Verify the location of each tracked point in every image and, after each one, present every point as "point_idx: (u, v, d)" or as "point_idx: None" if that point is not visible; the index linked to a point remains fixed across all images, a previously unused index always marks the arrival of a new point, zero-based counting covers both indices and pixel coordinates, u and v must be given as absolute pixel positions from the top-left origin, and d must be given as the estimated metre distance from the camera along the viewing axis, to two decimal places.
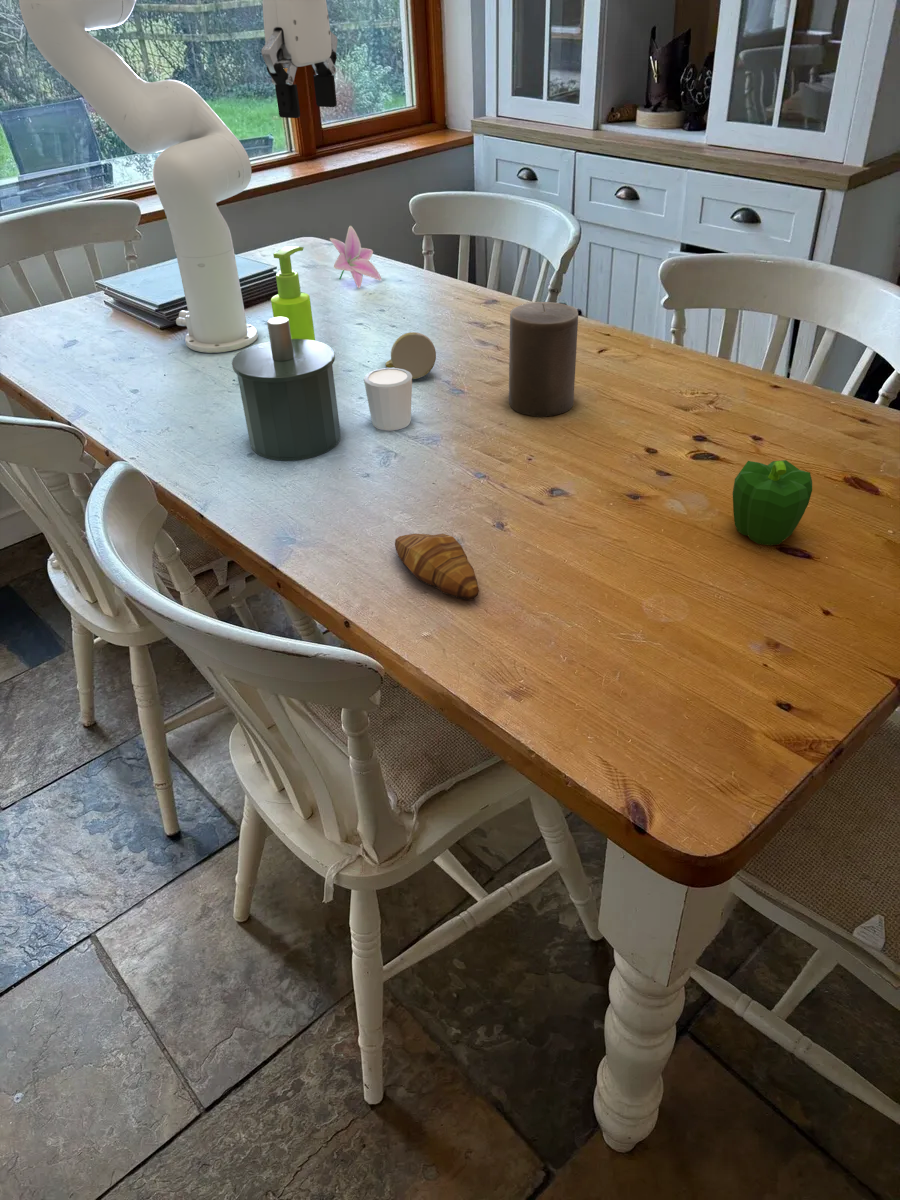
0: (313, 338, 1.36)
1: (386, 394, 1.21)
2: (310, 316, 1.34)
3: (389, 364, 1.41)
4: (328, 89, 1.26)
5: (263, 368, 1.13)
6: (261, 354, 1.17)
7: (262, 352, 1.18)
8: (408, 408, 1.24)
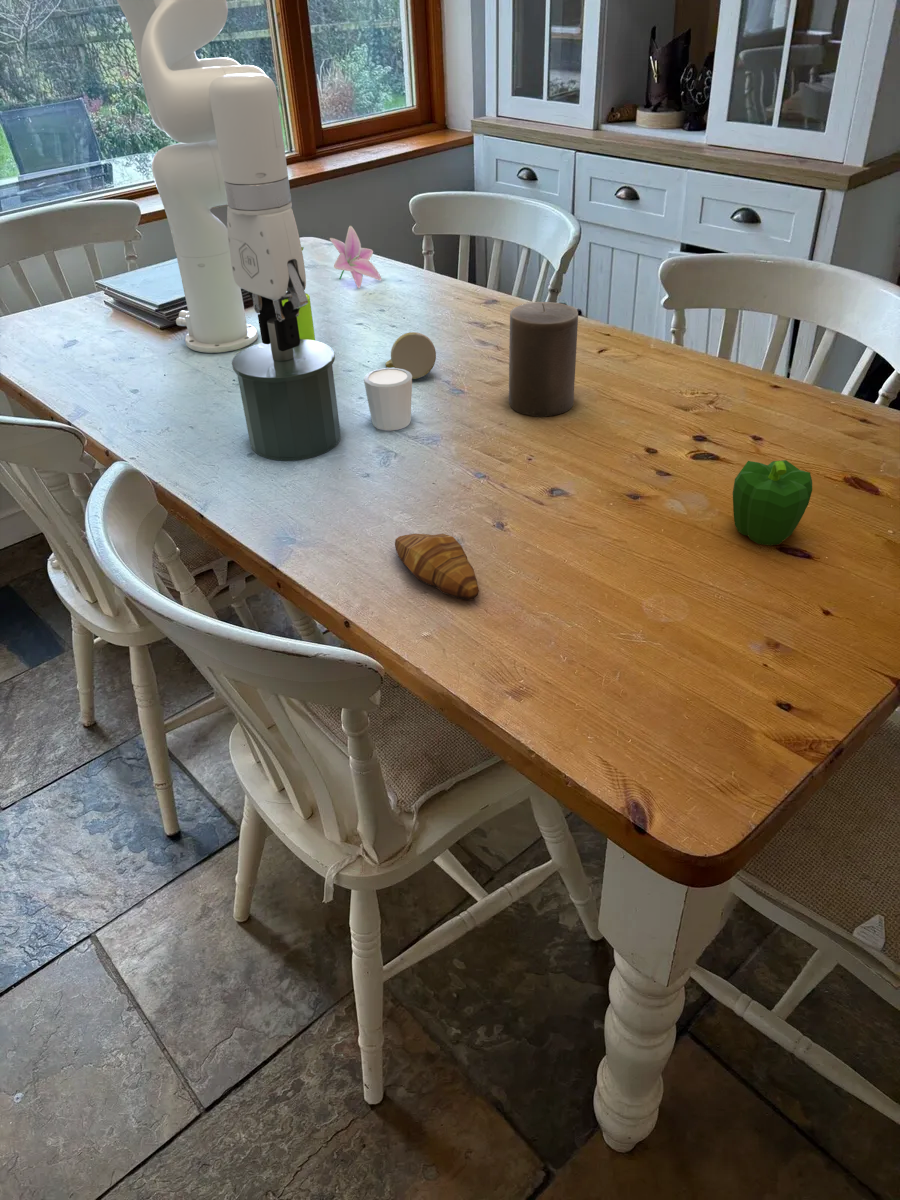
0: (313, 338, 1.36)
1: (386, 394, 1.21)
2: (310, 316, 1.34)
3: (389, 364, 1.41)
4: None
5: (263, 368, 1.13)
6: (261, 354, 1.17)
7: (262, 352, 1.18)
8: (408, 408, 1.24)
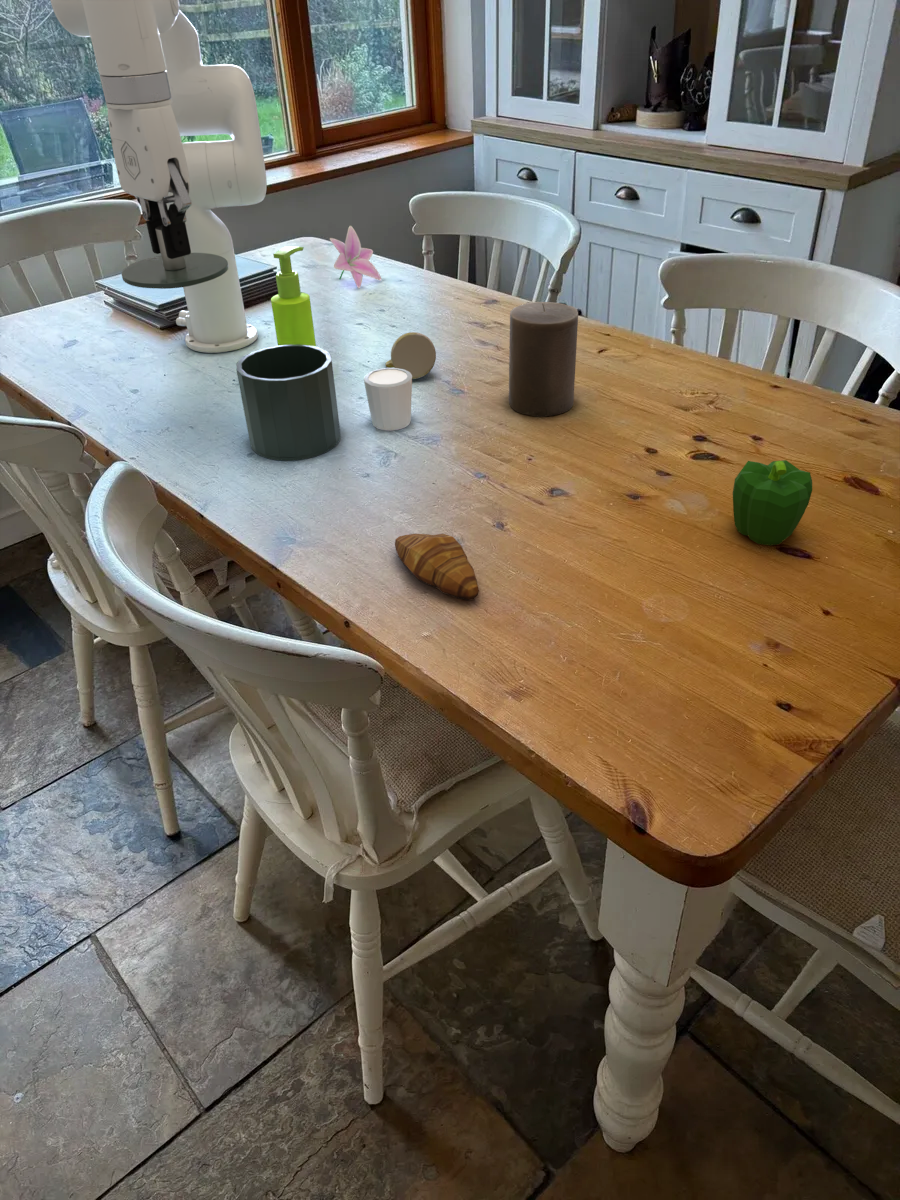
0: (313, 338, 1.36)
1: (386, 394, 1.21)
2: (310, 316, 1.34)
3: (389, 364, 1.41)
4: None
5: (152, 276, 1.11)
6: (153, 265, 1.15)
7: (155, 263, 1.16)
8: (408, 408, 1.24)
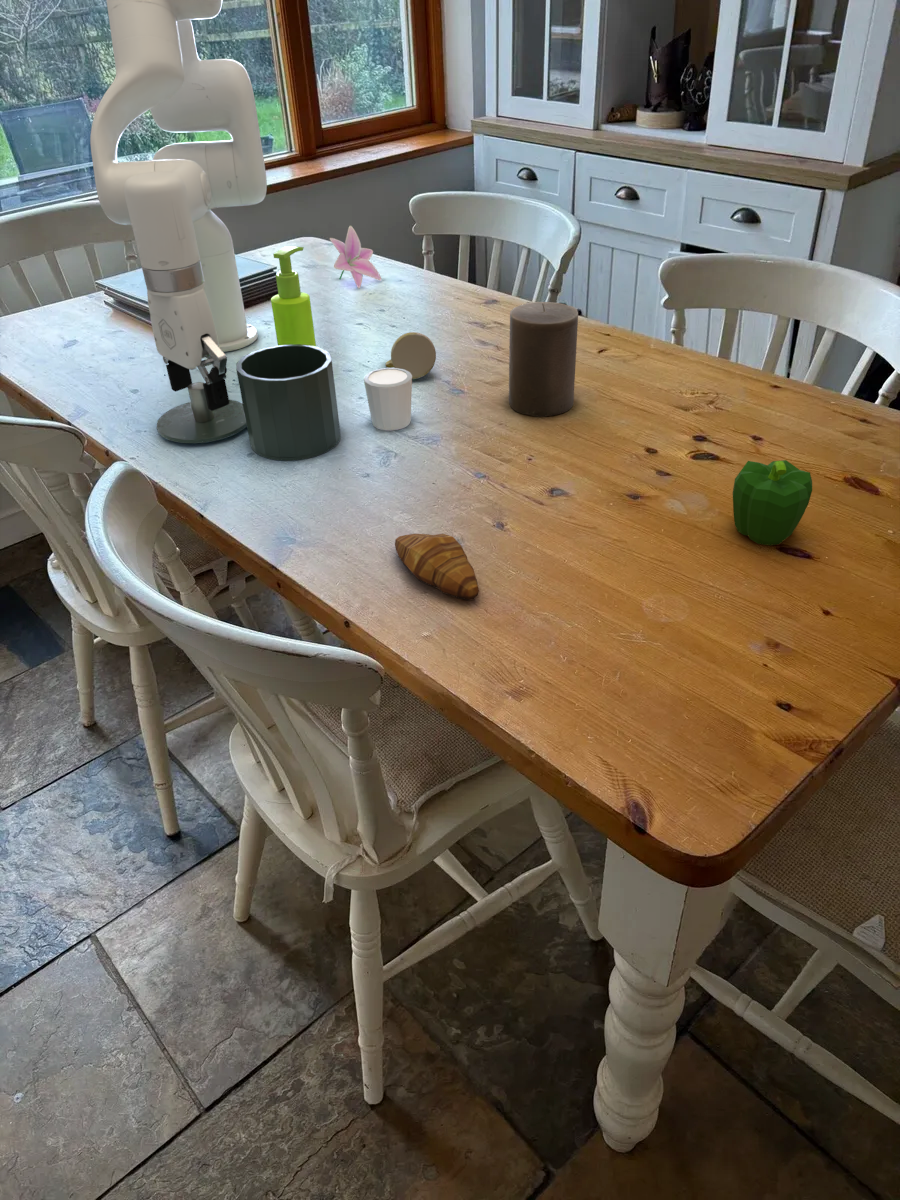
0: (313, 338, 1.36)
1: (386, 394, 1.21)
2: (310, 316, 1.34)
3: (389, 364, 1.41)
4: (186, 372, 1.27)
5: (184, 429, 1.24)
6: (184, 415, 1.28)
7: (186, 413, 1.29)
8: (408, 408, 1.24)
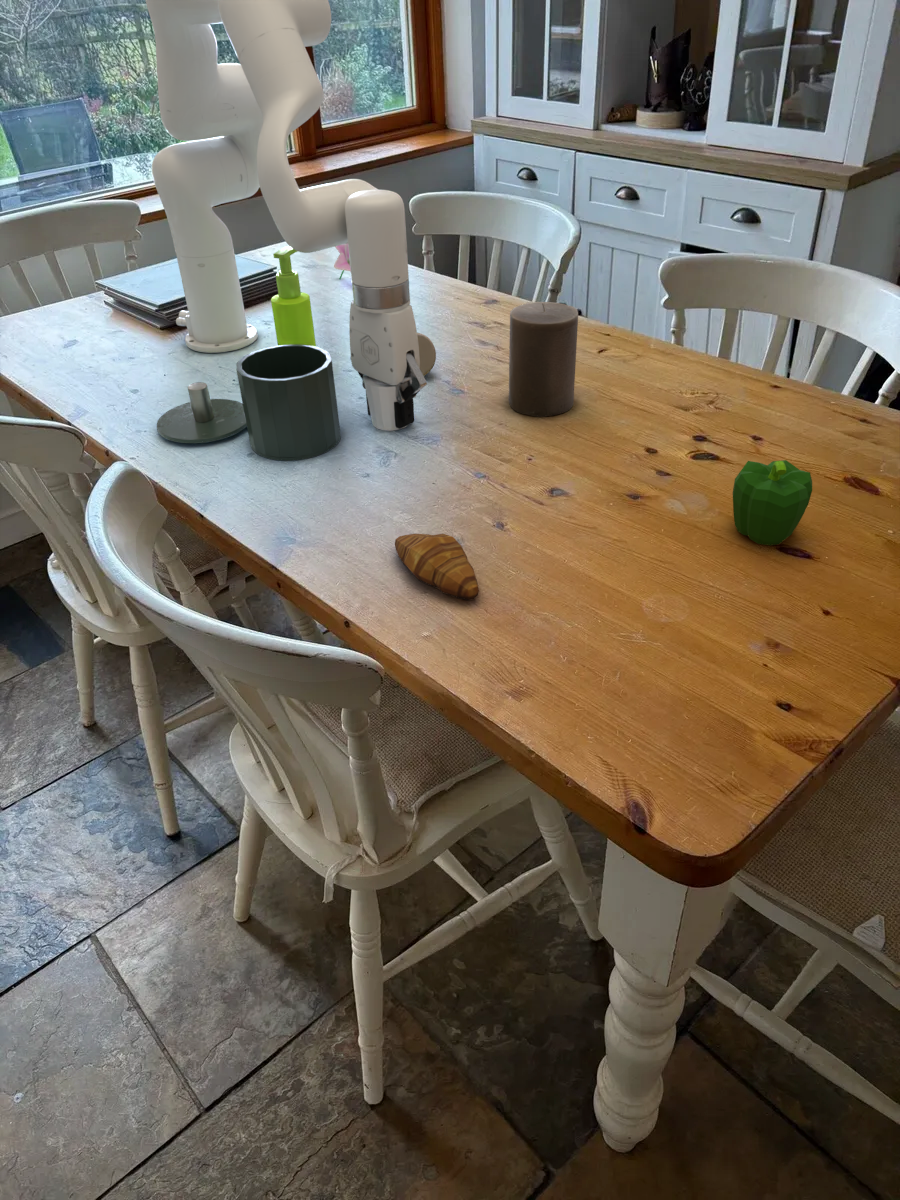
0: (313, 338, 1.36)
1: (386, 394, 1.21)
2: (310, 316, 1.34)
3: None
4: None
5: (184, 429, 1.24)
6: (184, 415, 1.28)
7: (186, 413, 1.29)
8: None
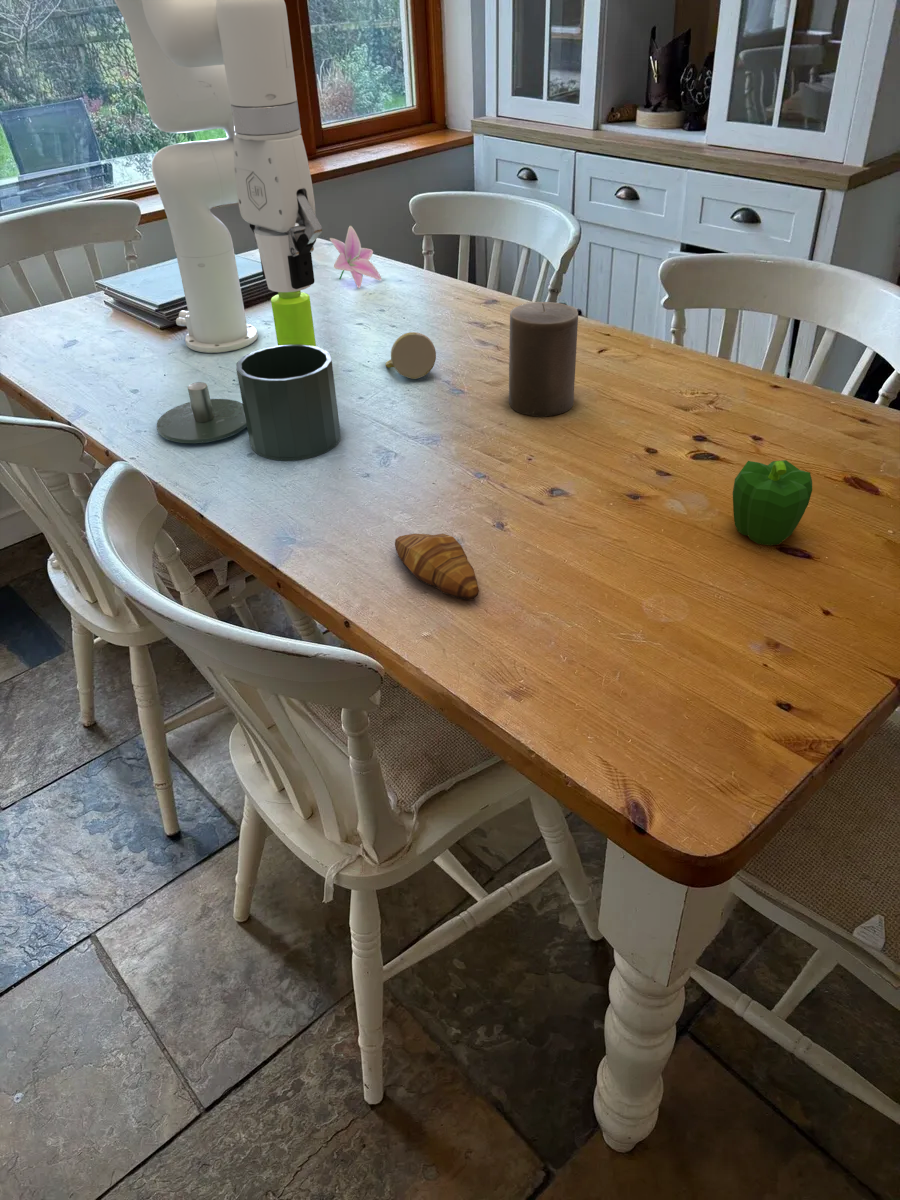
0: (313, 338, 1.36)
1: (278, 245, 1.05)
2: (310, 316, 1.34)
3: (389, 364, 1.41)
4: None
5: (184, 429, 1.24)
6: (184, 415, 1.28)
7: (186, 413, 1.29)
8: None
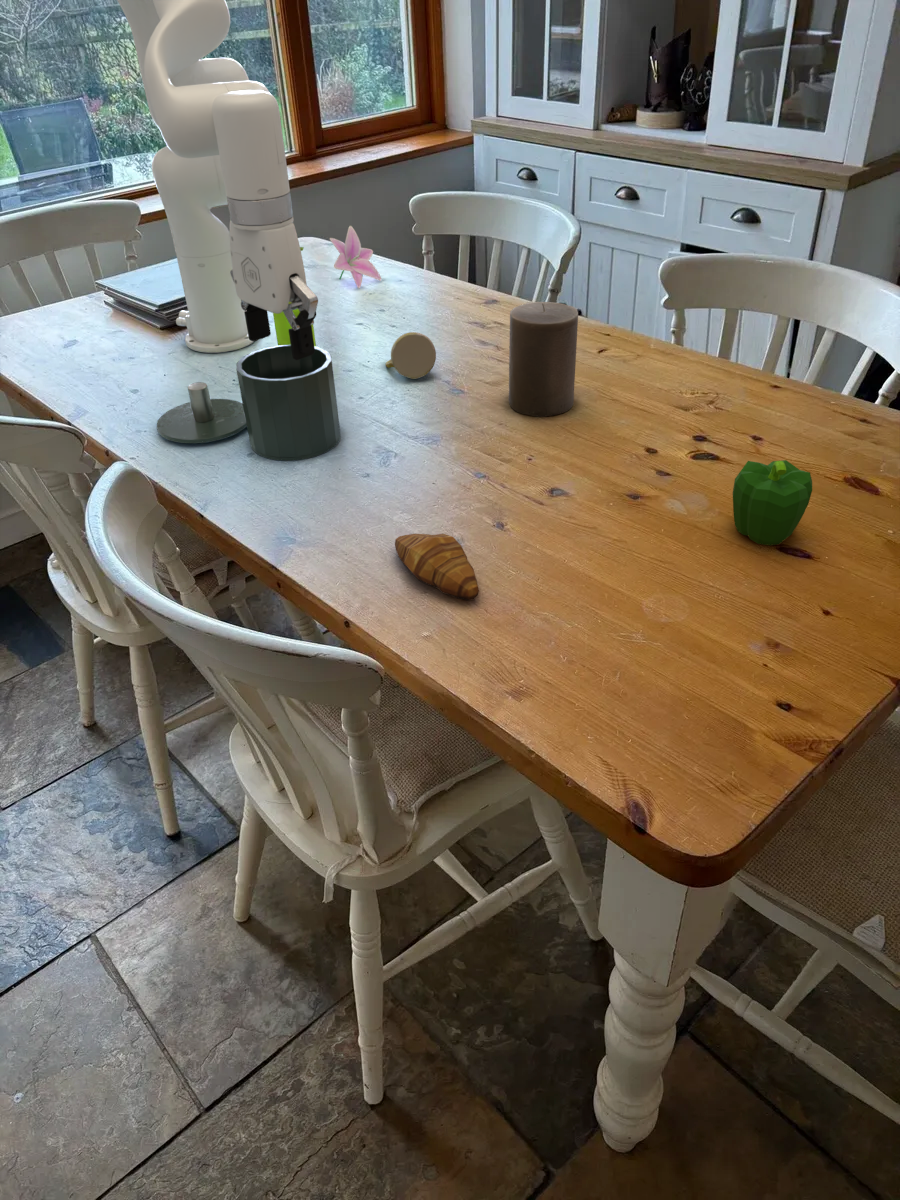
0: (313, 338, 1.36)
1: None
2: None
3: (389, 364, 1.41)
4: (264, 320, 1.17)
5: (184, 429, 1.24)
6: (184, 415, 1.28)
7: (186, 413, 1.29)
8: None
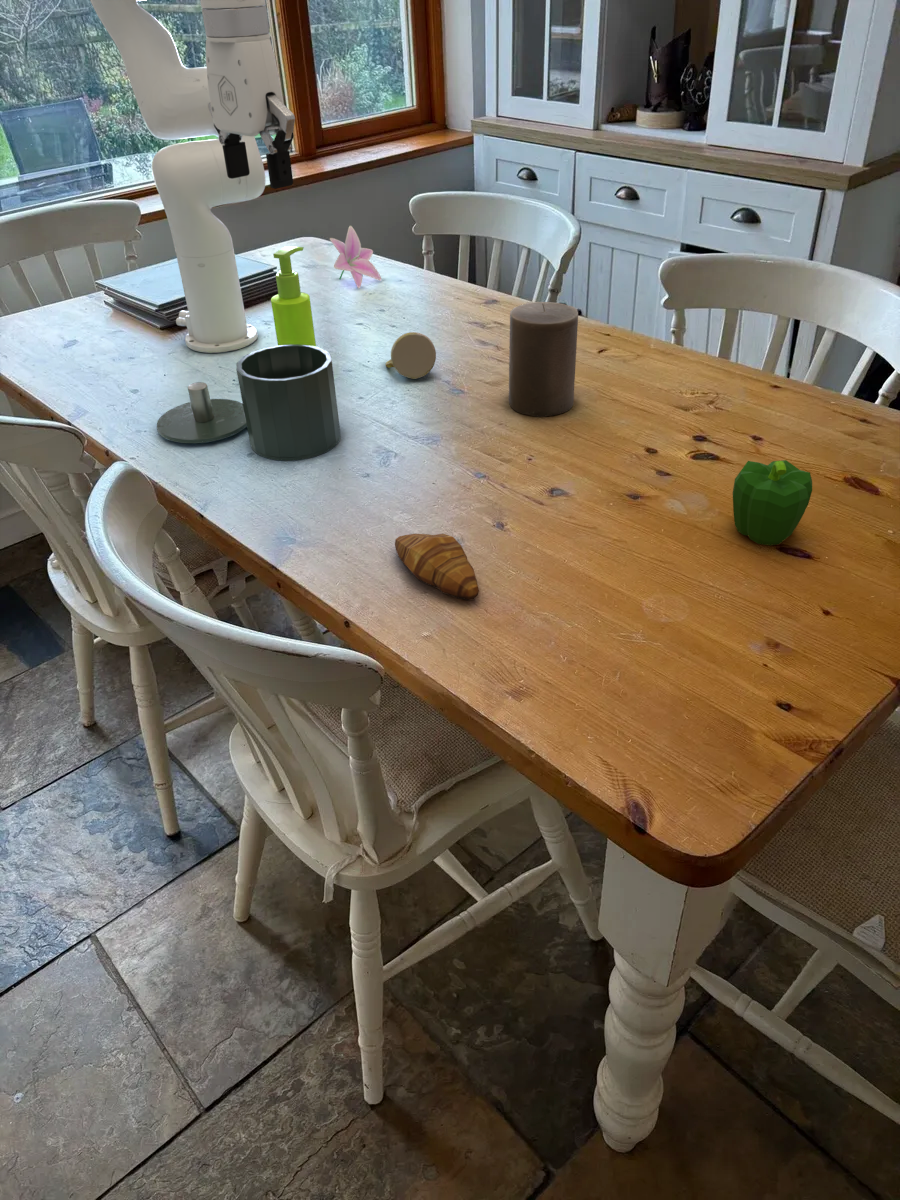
0: (313, 338, 1.36)
1: None
2: (310, 316, 1.34)
3: (389, 364, 1.41)
4: (243, 157, 1.16)
5: (184, 429, 1.24)
6: (184, 415, 1.28)
7: (186, 413, 1.29)
8: None
